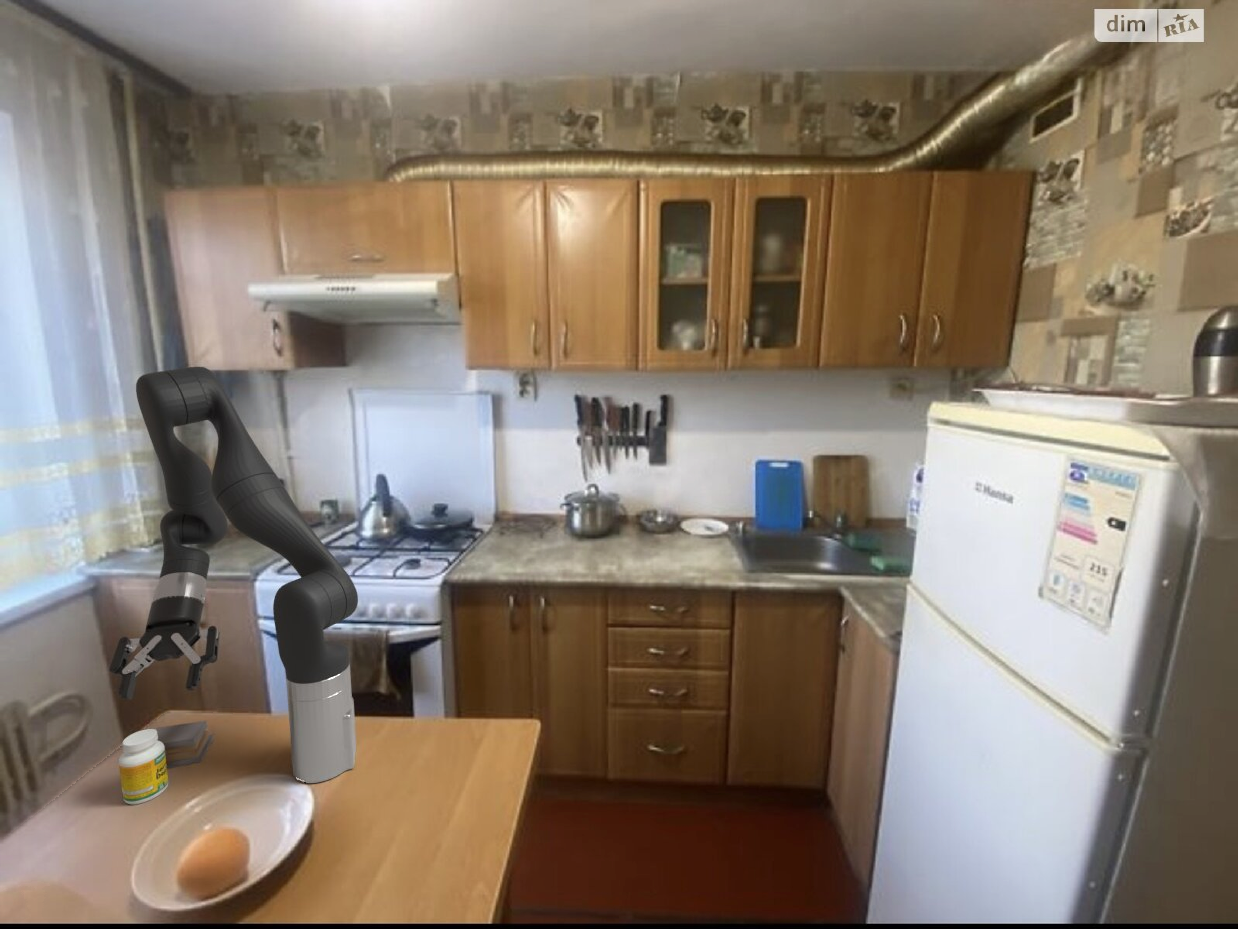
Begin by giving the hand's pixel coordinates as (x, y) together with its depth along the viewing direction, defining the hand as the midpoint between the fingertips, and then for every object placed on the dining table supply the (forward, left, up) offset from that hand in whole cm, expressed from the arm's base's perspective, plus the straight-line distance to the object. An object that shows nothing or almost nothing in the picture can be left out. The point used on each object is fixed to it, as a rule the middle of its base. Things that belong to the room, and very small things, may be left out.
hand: (159, 694), depth 89 cm
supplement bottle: (0, +8, -12) cm, 15 cm away
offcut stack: (-1, -1, -12) cm, 12 cm away
